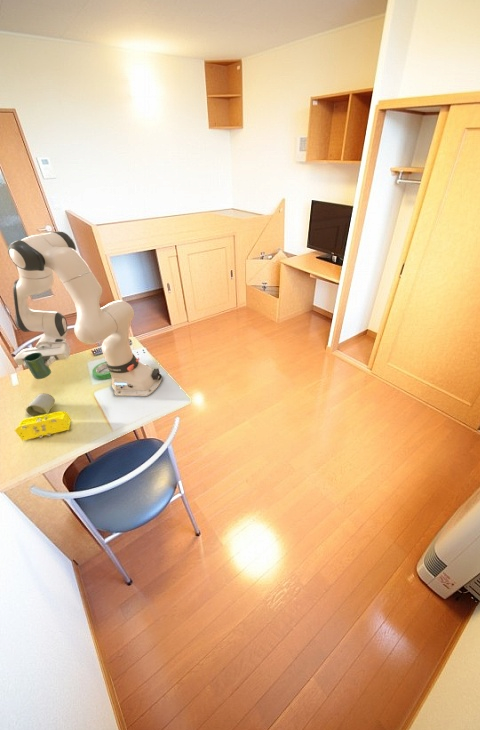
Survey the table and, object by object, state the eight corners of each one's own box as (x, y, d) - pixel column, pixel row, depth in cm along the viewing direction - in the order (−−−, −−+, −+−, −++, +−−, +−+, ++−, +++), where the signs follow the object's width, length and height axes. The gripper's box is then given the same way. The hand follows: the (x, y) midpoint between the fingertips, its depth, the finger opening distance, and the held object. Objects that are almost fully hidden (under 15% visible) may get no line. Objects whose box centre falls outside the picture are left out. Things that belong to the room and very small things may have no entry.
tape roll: (94, 368, 148) (92, 364, 146) (117, 362, 152) (116, 358, 150) (94, 382, 140) (92, 377, 138) (118, 375, 143) (117, 371, 142)
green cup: (54, 369, 130) (44, 352, 124) (46, 378, 125) (36, 361, 119) (39, 369, 129) (28, 352, 124) (31, 379, 124) (20, 362, 119)
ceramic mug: (59, 403, 128) (51, 390, 124) (50, 417, 122) (41, 404, 117) (33, 405, 128) (24, 392, 123) (23, 420, 121) (13, 407, 116)
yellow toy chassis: (23, 442, 112) (11, 428, 107) (27, 431, 116) (16, 417, 111) (70, 431, 116) (61, 417, 111) (72, 421, 121) (64, 407, 116)
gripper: (19, 344, 130) (4, 363, 120) (69, 339, 134) (59, 357, 123) (25, 355, 134) (12, 375, 123) (74, 350, 138) (65, 368, 127)
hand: (36, 366), depth 123 cm, fingers closed on green cup, 6 cm apart
